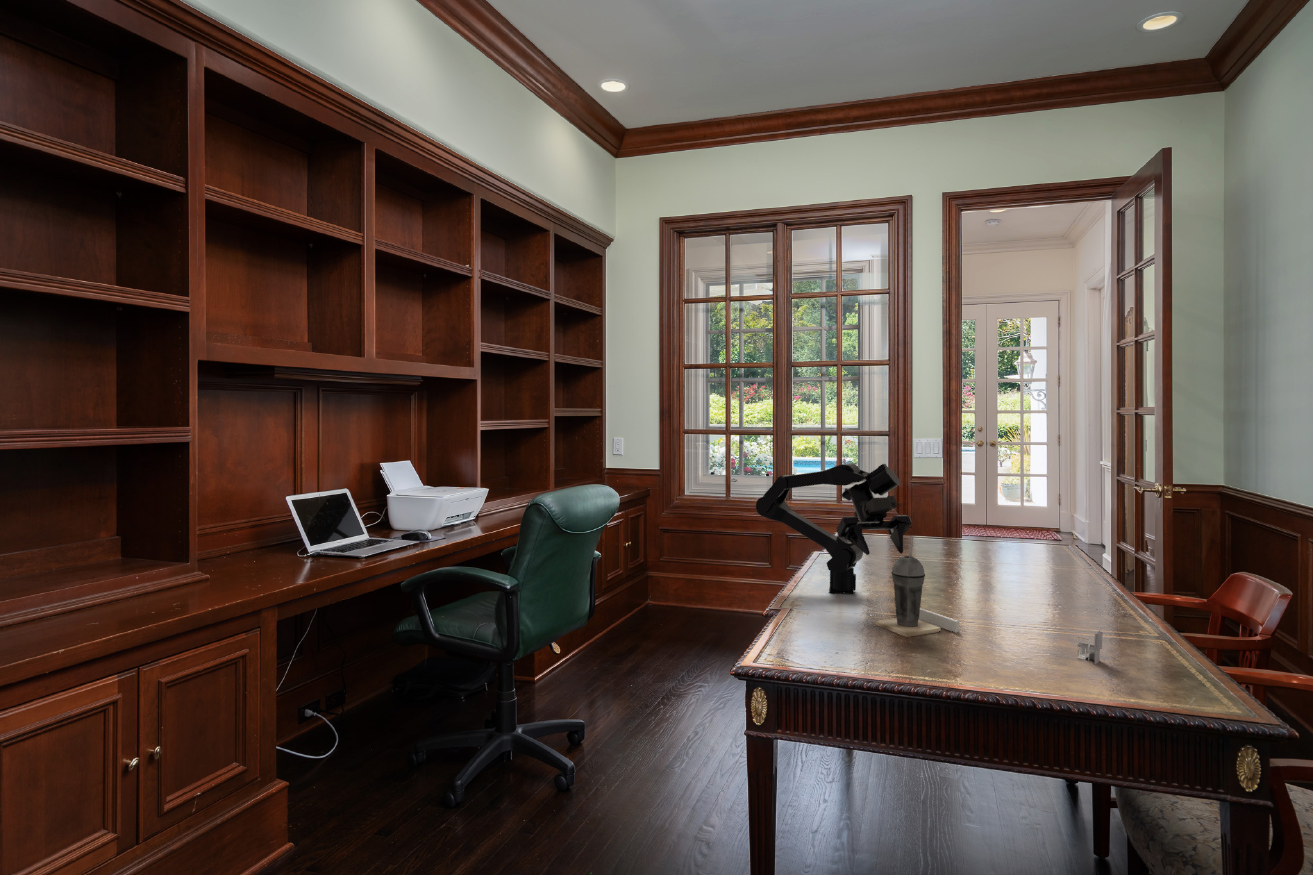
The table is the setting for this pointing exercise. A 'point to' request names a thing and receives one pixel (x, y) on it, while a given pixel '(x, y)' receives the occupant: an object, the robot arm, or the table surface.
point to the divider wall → (939, 620)
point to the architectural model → (1090, 648)
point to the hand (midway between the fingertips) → (885, 553)
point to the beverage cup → (908, 589)
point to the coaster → (907, 631)
